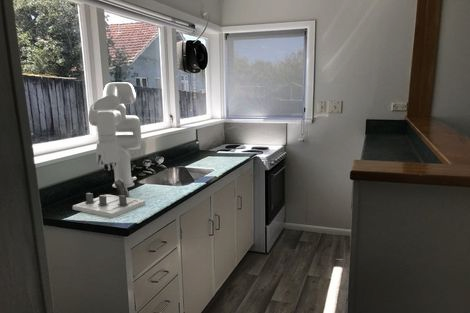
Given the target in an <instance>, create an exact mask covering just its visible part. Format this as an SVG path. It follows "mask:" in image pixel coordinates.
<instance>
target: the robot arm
mask: <svg viewBox="0 0 470 313" xmlns="http://www.w3.org/2000/svg"><path fill="white" fill-rule="evenodd" d="M104 86H105V87H104V89H103V90H102V97H100V98H98V99H97V100H95V101H94V102H93V103H91V105H90V108H89V111H88V122H89V123H90V125H91V126H93V127H97V134H98V136H97V137H98V142H96V149H95V154H96V155H95V158H96V160H95V161H96V164H97V165H98V167H99V168H101V169H102V168H103V170H104V171H105V178H106V179H109V180H112V179H114V182H115V181H117V180H119V179H118V178H121V179H122V180H123V181H124V182H125V184H126V187H127V189H128V188H131V187H134V186H135V182H134V181H136V180H137V177H136V176H132V172H131V171H132V170H131V156H130V154H129V153H128V152H127V150H139V149H141V148H142V132H141V131H142V130H141V129H142V128H141V121H140V118H139V117H138V116H137V115H127V110H126V106H125V105H132V104H134V103H135V102H136V100H137V94H136V91H135V88H134V86H133V84H131V83H130V82H126V81H125V82H109V83H107V84H106V85H104ZM112 188H115V189H117V188H116V186H115V183H113V184H112Z"/></svg>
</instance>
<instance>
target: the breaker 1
mask: <svg viewBox="0 0 470 313" xmlns="http://www.w3.org/2000/svg"><path fill="white" fill-rule="evenodd" d="M85 198H86V199H85V200H86V201H84V202H85V203H90V204H91V203H94V202H95V201H93V199H94V193H93V192H92V193H91V192H87V193H86V192H85Z"/></svg>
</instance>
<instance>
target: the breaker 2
mask: <svg viewBox="0 0 470 313" xmlns="http://www.w3.org/2000/svg"><path fill="white" fill-rule="evenodd" d="M105 195H106V194H100V195H98V197H99V204H98V205H101V206H105V205H108V204H109V203H107V202H106V196H105Z"/></svg>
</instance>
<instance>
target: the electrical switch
mask: <svg viewBox="0 0 470 313" xmlns="http://www.w3.org/2000/svg"><path fill="white" fill-rule="evenodd" d="M118 179H119V180H117V181H115V180H114V183H115V186H116V188H115V189H116V191H117V193H118V196H120V195H124V196H126V197H127V198H130V196H131V195H130V193H129V190H128V188H127V187H126V184H125V182H124V181H123V180H122V179H121V178H118ZM114 183H113V184H114Z"/></svg>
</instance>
